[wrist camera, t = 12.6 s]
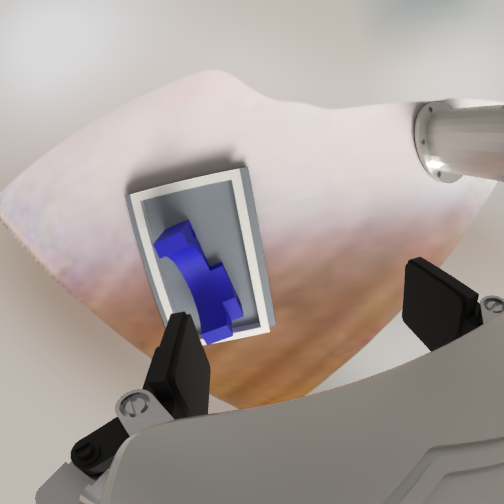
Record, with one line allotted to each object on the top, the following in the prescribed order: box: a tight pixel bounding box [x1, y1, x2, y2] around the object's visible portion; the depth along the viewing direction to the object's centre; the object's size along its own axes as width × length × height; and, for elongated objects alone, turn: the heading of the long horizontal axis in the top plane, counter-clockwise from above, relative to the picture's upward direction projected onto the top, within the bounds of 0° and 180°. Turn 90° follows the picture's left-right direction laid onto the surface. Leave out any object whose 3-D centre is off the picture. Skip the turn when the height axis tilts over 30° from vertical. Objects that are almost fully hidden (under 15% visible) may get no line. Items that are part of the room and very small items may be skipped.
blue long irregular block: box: [153, 219, 244, 345], centre depth 29 cm, size 12×4×6 cm, turn 21°
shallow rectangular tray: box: [125, 167, 276, 345], centre depth 31 cm, size 14×20×2 cm
